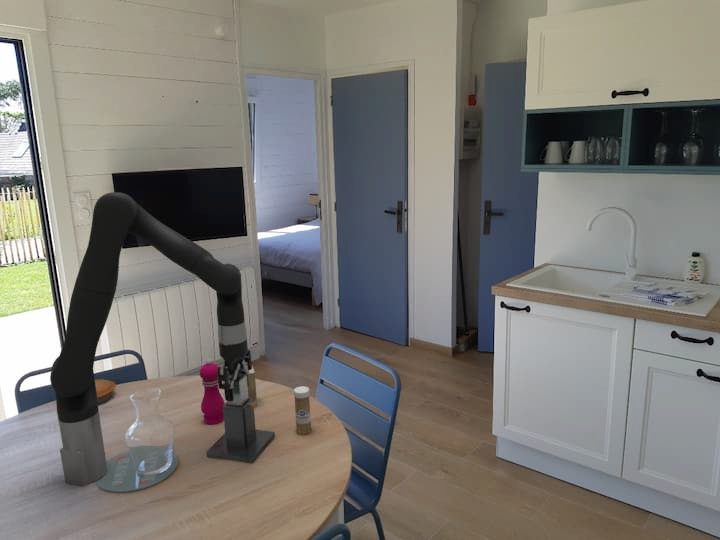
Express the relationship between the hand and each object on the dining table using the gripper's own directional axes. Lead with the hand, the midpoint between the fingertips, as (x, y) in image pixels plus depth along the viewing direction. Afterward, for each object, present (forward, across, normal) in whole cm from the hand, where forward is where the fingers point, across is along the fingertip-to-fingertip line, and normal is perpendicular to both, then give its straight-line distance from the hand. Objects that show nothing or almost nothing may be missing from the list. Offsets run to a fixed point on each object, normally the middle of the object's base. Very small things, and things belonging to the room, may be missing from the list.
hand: (237, 393), depth 150 cm
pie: (+16, -15, -65) cm, 69 cm away
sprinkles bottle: (+16, -12, +14) cm, 25 cm away
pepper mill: (+16, -12, -16) cm, 26 cm away
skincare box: (+16, -24, -10) cm, 31 cm away
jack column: (+15, 0, 0) cm, 15 cm away
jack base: (+16, 0, 0) cm, 16 cm away
